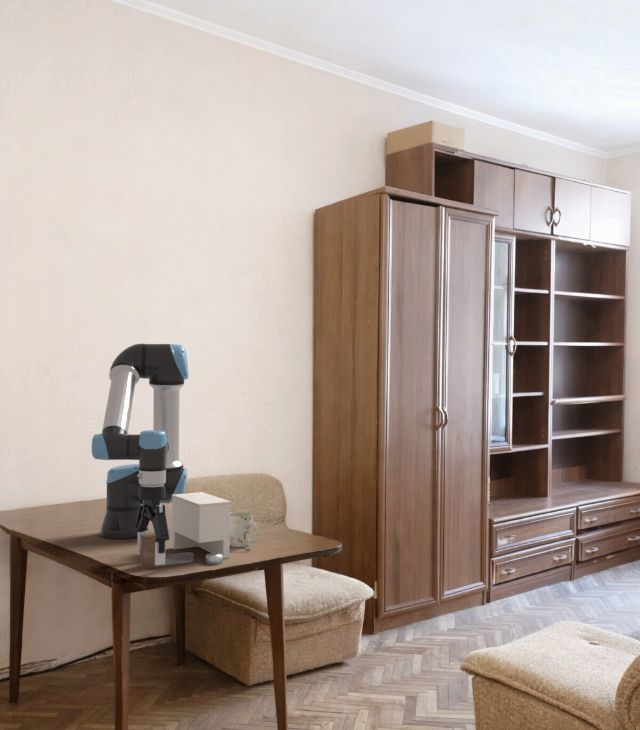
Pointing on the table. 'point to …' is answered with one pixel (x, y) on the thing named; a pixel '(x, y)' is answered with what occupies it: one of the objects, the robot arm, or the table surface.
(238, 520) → the mug
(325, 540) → the table surface
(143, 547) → the blade tool
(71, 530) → the table surface
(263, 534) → the table surface
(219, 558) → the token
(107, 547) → the table surface
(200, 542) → the cabinet
